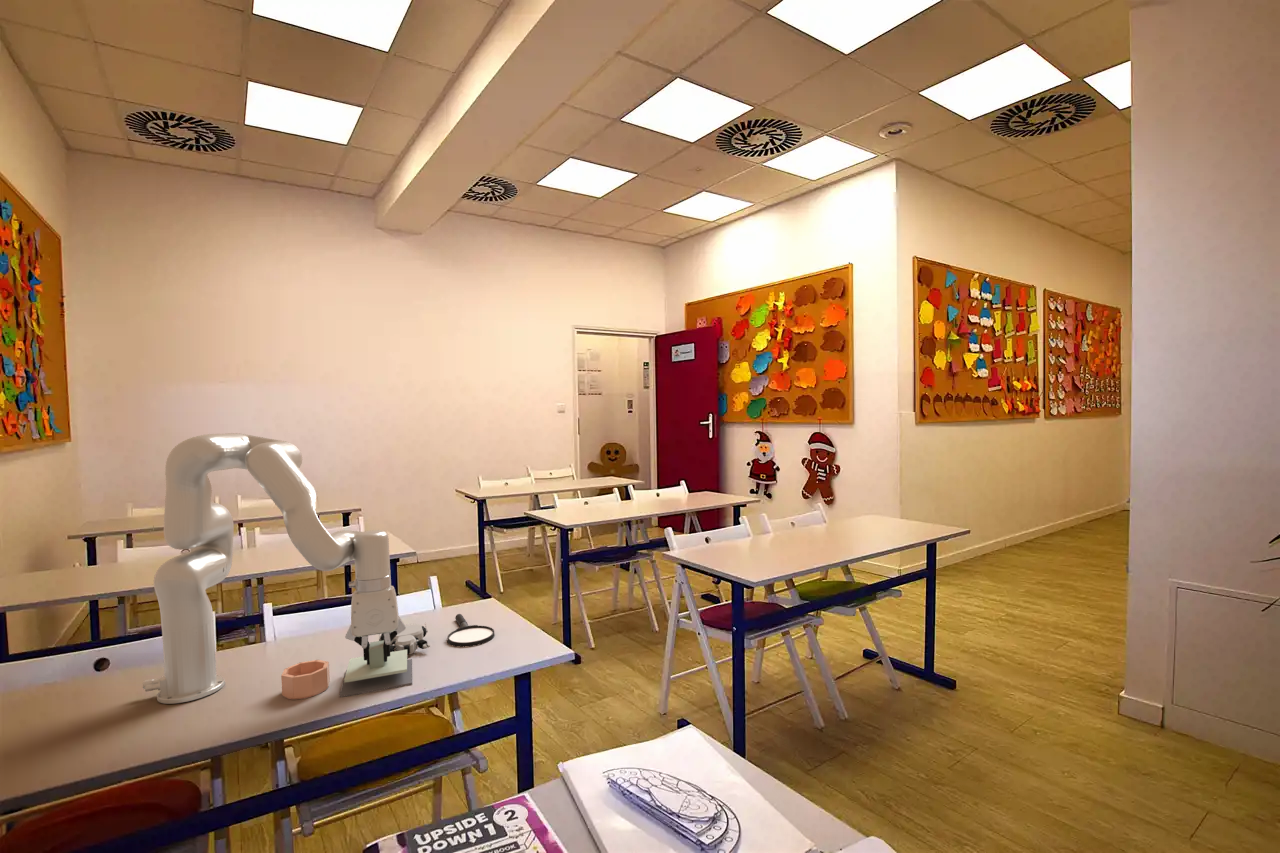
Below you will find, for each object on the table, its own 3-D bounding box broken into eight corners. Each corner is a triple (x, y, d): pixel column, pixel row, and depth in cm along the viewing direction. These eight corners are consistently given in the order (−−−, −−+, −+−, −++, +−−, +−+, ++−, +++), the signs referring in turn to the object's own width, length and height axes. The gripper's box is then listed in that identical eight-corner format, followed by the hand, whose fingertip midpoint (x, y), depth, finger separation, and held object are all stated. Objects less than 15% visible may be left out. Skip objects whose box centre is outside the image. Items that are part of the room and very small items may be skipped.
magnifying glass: (479, 616, 186) (479, 609, 186) (499, 643, 165) (499, 635, 165) (437, 624, 181) (437, 617, 181) (452, 653, 159) (451, 645, 159)
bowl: (279, 702, 133) (278, 680, 133) (287, 685, 141) (286, 664, 141) (326, 694, 136) (325, 672, 136) (331, 678, 144) (330, 657, 144)
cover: (344, 682, 135) (343, 659, 135) (349, 661, 148) (348, 640, 148) (406, 671, 140) (405, 649, 140) (407, 651, 152) (406, 631, 152)
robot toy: (432, 657, 158) (426, 634, 171) (432, 640, 158) (425, 619, 171) (381, 667, 153) (378, 643, 166) (380, 649, 152) (377, 627, 166)
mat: (339, 697, 134) (339, 695, 134) (346, 671, 148) (346, 669, 148) (412, 684, 140) (412, 682, 140) (412, 660, 154) (412, 658, 154)
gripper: (333, 593, 137) (337, 673, 137) (410, 583, 143) (414, 660, 143) (336, 584, 144) (340, 661, 144) (410, 575, 150) (414, 649, 150)
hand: (377, 660), depth 144 cm, fingers closed on cover, 3 cm apart
